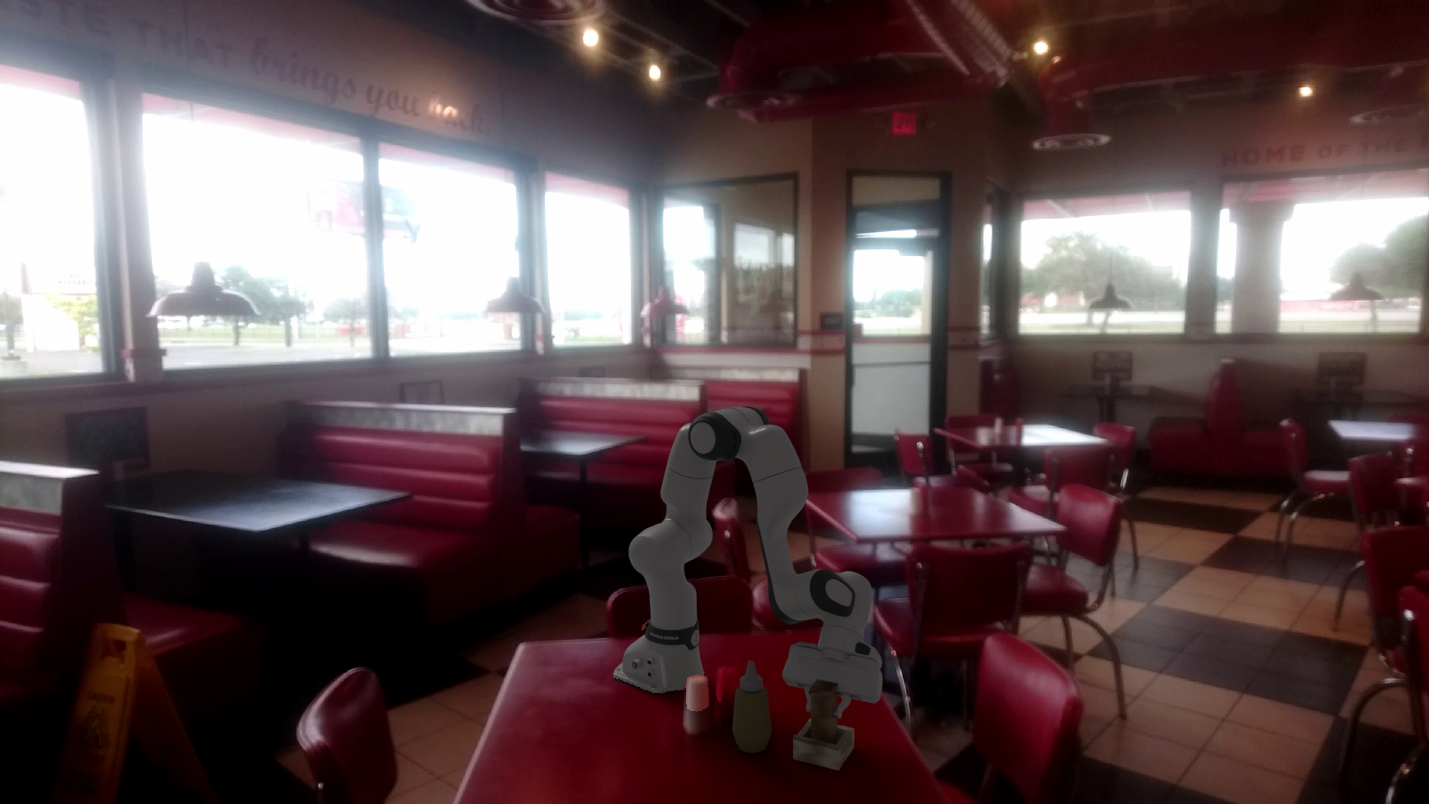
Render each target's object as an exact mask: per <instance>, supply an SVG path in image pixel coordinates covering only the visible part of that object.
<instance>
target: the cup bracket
mask: <svg viewBox="0 0 1429 804" xmlns="http://www.w3.org/2000/svg"><path fill="white" fill-rule="evenodd" d="M854 748H855V728H854V727H849V726H845V725H840V724H837V742H836V743H835V744H831V743H827V742H823V741H819V740H815V739H811V717H810V718H809V719H808V721H807V722H806V723H805V725H804V726H803V727H802V728H801V730H800V731H799V732H798V733H797V734H793V735H792V754H793V755H792V759H793V760H796V761H799V762H804V763H806V764H807V763H808V764H811V765H816V766H820V767H822V768H826V769H830V770H835V771H839V770H840V769H841V768H842V766H843V764H844V763H845V762H846V760H847V759H848V757H849V756H850V754H851V753H852V751H853V750H854Z"/></svg>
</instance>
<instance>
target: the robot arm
mask: <svg viewBox="0 0 1429 804" xmlns="http://www.w3.org/2000/svg"><path fill="white" fill-rule="evenodd" d="M668 455H669V456H668V458H667V464H666V467H665V472H664V476H663V479H662V485H661V489H660V498H661V500H662V501H663V503H664V504H665V505H666V514H665V517H664V519H663V520H662V521H661V523H657V524H654V525H652V526H650V527H647V528H645V529H644V530H642V531H641V532H639V534H638V535H636V536H635V537H634V538H633V539H632V540H631V542H630V544H629V548H628V557H629V560H630V563H631V565H632V567H633V568H634V570H635V571H637V572H638V573H639V574H641V575H642V576H643V577H644V579H645V582H646V585H647V588H648V593H649V604H650V605H649V606H650V619H648V620H646V622H645V623H644V624H642V625H641V627H642V629H641V631H644V630H645V633H644V634H643V635H642V636H641V637H639V638H638V639H636V640H635V641H634V642H632V643H631V644H630V645H629V646H628V647H627V648H626V650H625V651H624V654H623V658H622V662H621V663H619V665H617V667H615V668H614V671H613V676H612V677H613V679H615V678H616V679H615V680H618V679H620V680H622V681H621V682H623V681H624V682H623V683H625V682H628V683H630V684H629V685H631V684H633V685H635V686H634V687H636V686H637V687H636V688H638V687H640V688H639V689H641V688H642V689H641V690H644V691H646V690H648V691H647V692H649V691H650V693H651V692H652V694H654V693H660V694H664V693H667V691H668V692H673V691H675V690H677V691H683V690H685V689H684V687H685V684H686V681H687V678H688V677H689V676H693V675H696V674H702V675H704V674H705V671H704V669H703V664H702V660H701V654H700V649H699V647H700V646H699V643H700V626H699V624H700V623H699V619H698V614H697V613H698V611H697V609H698V608H697V606H698V605H697V591H696V588H695V587H694V585H693V584H692V583H691V582H689V581H687V578H686V575H685V564H686V563H688V562H690V561H692V560H694V559H696V558H698V557H700V556H701V555H702V553H704V552H705V551H706V550H707V549H708V548H709V547H710V545H711V543H712V541H713V529H712V526H711V523H710V522H709V521H708V520H707V505H708V504H707V503H708V497H709V494H710V489H711V485H712V481H713V478H714V473H715V468H716V465H717V464H716V463H717V462H721V461H722V462H723V461H724V462H725V461H726V462H727V461H730V462H731V461H734V459H735V458H737V459H739V460H741V461H742V462H744V464H745V465H746V468H747V469H748V471H749V474H750V477H751V478H750V479H751V480H752V483H753V487H754V491H755V495H756V501H757V514H756V517H755V518H756V519H755V520H756V528H757V534H758V539H759V543H760V548H761V554H762V559H763V563H764V568H765V573H766V577H767V588H768V590H767V592H768V594H767V595H768V596H767V597H768V603H769V607H770V609H771V611H772V613H773V615H774V616H775V617H776V618H777V619H778V620H779V621H781V622H782V623H784V624H787V625H795V624H796V625H797V624H799V623H802V622H805V621H809V620H815V619H819V620H821V621H822V622H823V624H822V625H823V626H822V627H821V632H820V636H819V640H818V643H817V644H816V643H809V642H805V641H798V642H796V643H795V642H794V643H793V644H792V645H791V646H790V648H789V652H788V658H787V659H786V662H785V665H784V666H783V667H784V668H783V670H782V678H783V680H784V682H785V683H786V685H787V686H791V687H796V688H800V689H803V690H804V693H805V696H806V700H807V702H806V706H805V710H806V711H807V712H808V713H811V692H809V688H810V687H811V686H812V685H813V684H814V682H815V681H816V680H817V679H819V680H824V681H829V682H834V683H838V687H837V689H836V691H837V697H841V702H840V703H839V704H837V707H836V706H833V711H832V716H833V717H834V718H837V720H838V719H841V718H842V715H843V711H845V710H846V709H847V707H848V706H849V705H850V704H851V701H852V699H853V700H857V701H860V702H866V703H870V704H876V703H877V702H879V701H880V700H881V698H882V697H881V696H882V690H883V689H882V688H883V674H882V672H881V669H882V665H883V659H882V657H881V655H880V653H879V652H878V651H877V649H876V648H875V647H874V646H873V645H870V644H868V643H866V642H864V640H865V639H864V638H865V637H864V634H865V633H864V632H865V631H864V630H865V628H866V626H867V624H868V622H869V618H870V614H871V609H872V603H873V591H872V590H873V589H872V584H871V583H870V581H869V580H868V579H867V578H866V577H864V576H863V575H861V574H859V573H857V572H855V571H850V570H849V571H848V570H847V571H843V572H835V571H833V570H831V569H828V568H820V569H818V568H817V569H813V570H809V571H806V572H803V573H799V574H797V572H796V571H795V569H794V565H793V561H792V555H791V551H790V548H789V543H788V529H789V527H790V525H791V522H792V521H793V519H794V518H796V516H797V515H798V514H799V513H800V512H801V511H802V509H803V508H804V507H805V504H806V502H807V500H808V497H809V487H808V481H807V478H806V474H805V472H804V468H803V467H802V464H801V461H800V458H799V456H798V454H797V450H796V448H795V447H794V445H793V444H792V442H791V440H790V437H789V436H788V435H787V433H786V431H785V430H784V429H783V428H782V427H781V426H778V425H775V424H771V422H770V419H769V416H767V414H766V413H765V412H764V411H763V410H761V409H759V408H757V407H753V406H749V405H744V406H733V407H724V408H722V409H718V410H715V411H708V412H704V413H702V414H700V415H699V416H697V417H695V418H694V419H693V421H692V422H690V423H689V422H688V423H685V424H684V425H683V426H681V427H680V429H679V431H678V432H677V434H676V437H675V438H674V441H673V443H672V446H671V450H670V452H669V454H668ZM620 680H619V681H620ZM628 683H627V684H628ZM633 685H632V686H633Z"/></svg>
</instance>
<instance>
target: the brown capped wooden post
mask: <svg viewBox="0 0 1429 804" xmlns="http://www.w3.org/2000/svg"><path fill="white" fill-rule="evenodd" d="M837 687H838V683H834V682H829V681H824V680H819V679H817V680H816V681H815V682H814V684H813V685H812V686H811V687H810V688H809V692H811V712H810V718H811V739H815V740H819V741H823V742H827V743H831V744H835V743H836V742H837V725H838V718H834V717H833V716H832V711H833V706H836V707H838V696H837V691H836V689H837Z"/></svg>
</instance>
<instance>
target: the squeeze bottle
mask: <svg viewBox="0 0 1429 804" xmlns="http://www.w3.org/2000/svg"><path fill="white" fill-rule="evenodd" d="M763 681H764V680H763V677H761V676H760V675H758V674H757V669H756V663H755V661H754V660H748V661H747V666H746V670H745V673H744V675H742V676H741V677H740V678H739V686H738V687H737V688H736V690H735V694H734V707H733V717H732V726H731V727H732V728H731V729H732V734H733V737H734V740H735V742H736V744H737V747H738V749H739V750H741V751H742V752H744V753H749V754H757V753H761V752H763V751H764V750H766V748H767V746H768V743H769V740H770V738H771V735H772V721H771V714H770V713H771V712H770V705H769V696H768V694H769V693H768V690H767V688H766V687H765V686H764V684H763V683H764V682H763Z"/></svg>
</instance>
